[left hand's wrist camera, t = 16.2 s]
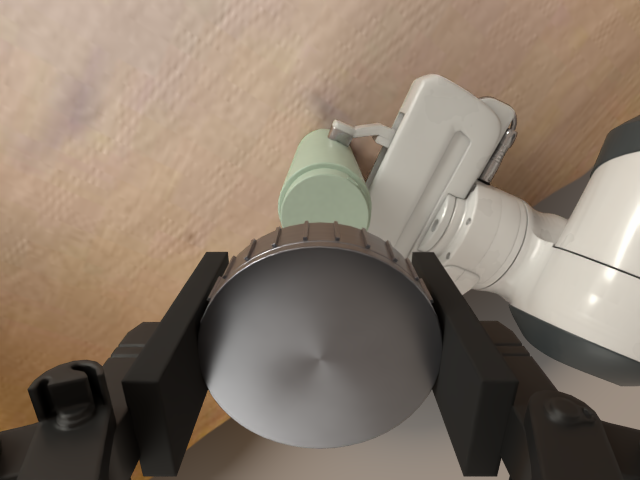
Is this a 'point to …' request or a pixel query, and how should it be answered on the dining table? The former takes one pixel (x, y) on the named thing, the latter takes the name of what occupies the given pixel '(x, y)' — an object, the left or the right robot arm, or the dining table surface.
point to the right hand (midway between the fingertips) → (314, 168)
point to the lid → (320, 337)
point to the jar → (324, 185)
